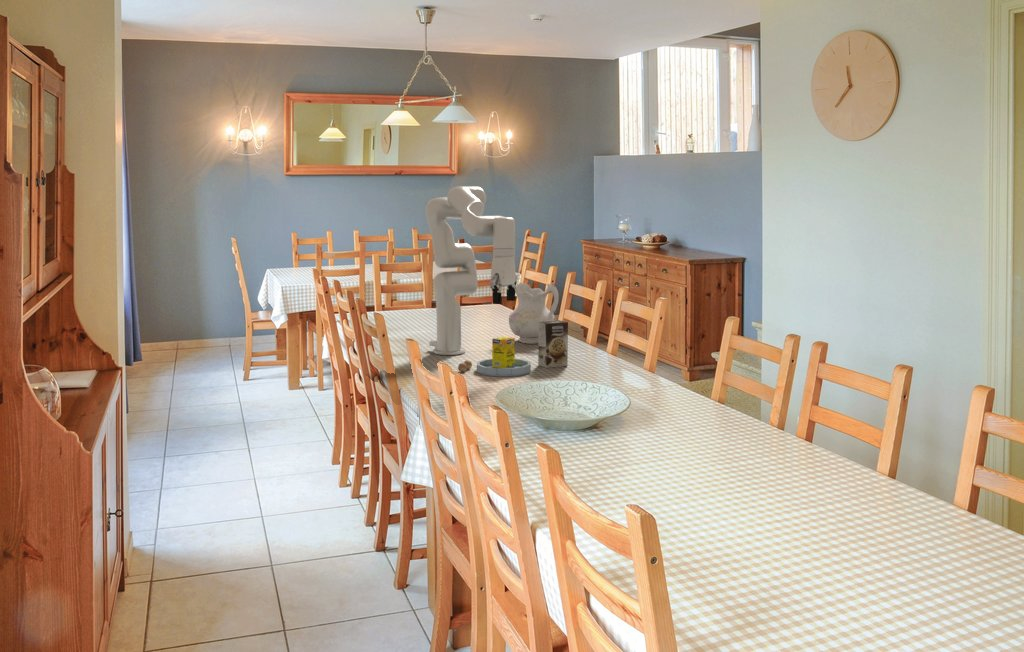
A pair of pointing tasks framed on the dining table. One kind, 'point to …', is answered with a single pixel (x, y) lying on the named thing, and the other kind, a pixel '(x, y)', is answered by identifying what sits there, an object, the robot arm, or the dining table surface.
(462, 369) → the bead
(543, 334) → the coffee box
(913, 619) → the dining table surface
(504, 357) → the supplement box
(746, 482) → the dining table surface
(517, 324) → the ceramic pitcher
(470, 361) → the bead
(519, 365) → the tray
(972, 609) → the dining table surface
